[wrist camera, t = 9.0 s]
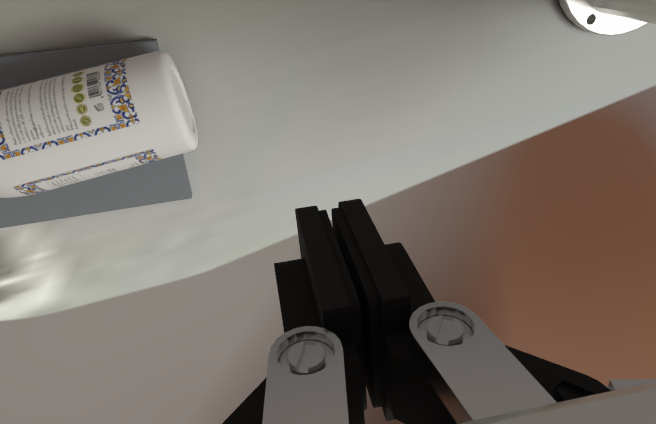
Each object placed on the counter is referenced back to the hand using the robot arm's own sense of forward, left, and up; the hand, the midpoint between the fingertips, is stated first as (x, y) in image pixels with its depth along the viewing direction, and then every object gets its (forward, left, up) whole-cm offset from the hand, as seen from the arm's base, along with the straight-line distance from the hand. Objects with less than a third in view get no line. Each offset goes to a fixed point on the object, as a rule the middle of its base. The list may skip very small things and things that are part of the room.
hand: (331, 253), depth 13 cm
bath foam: (+5, +2, -24) cm, 25 cm away
